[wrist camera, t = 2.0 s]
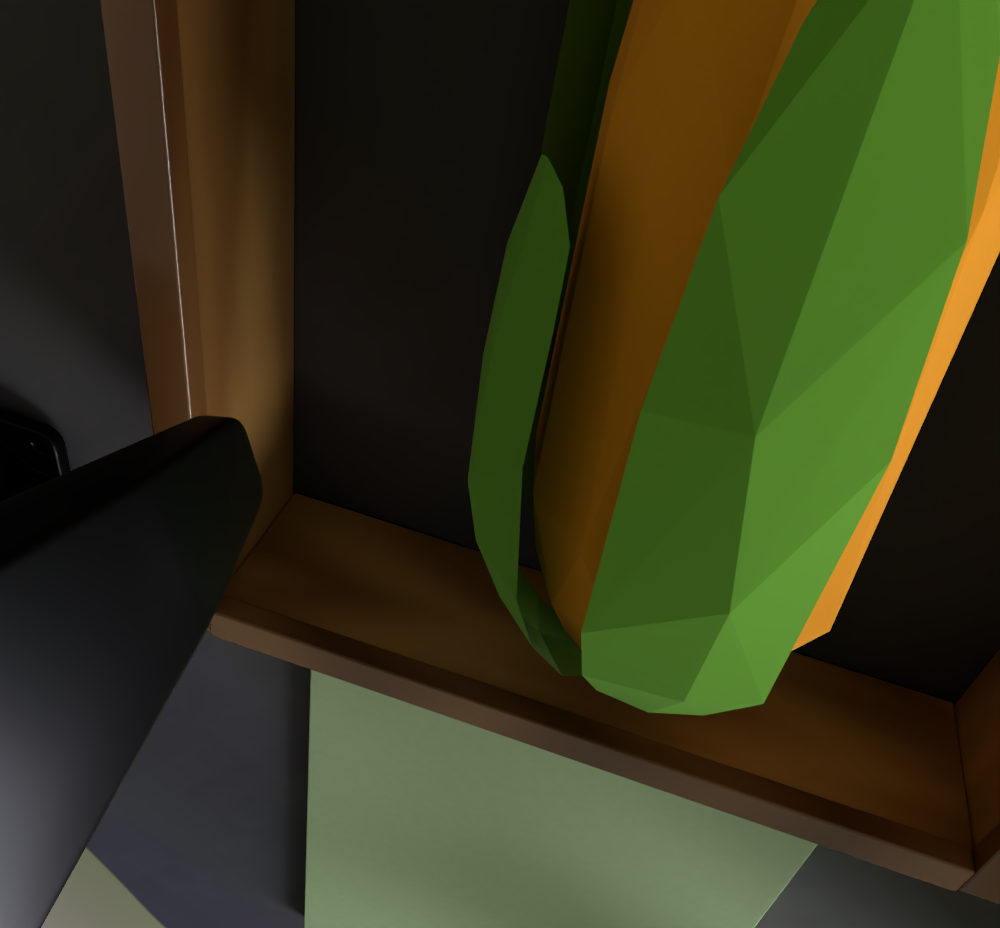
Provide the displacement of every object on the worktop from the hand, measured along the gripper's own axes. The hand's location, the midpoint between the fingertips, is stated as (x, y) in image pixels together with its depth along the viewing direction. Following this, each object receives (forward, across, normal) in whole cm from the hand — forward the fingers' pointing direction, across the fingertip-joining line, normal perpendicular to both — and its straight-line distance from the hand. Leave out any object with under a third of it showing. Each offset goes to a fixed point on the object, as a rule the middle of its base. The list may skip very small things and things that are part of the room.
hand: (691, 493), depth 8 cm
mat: (+10, +6, +25) cm, 28 cm away
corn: (+10, 0, 0) cm, 10 cm away
